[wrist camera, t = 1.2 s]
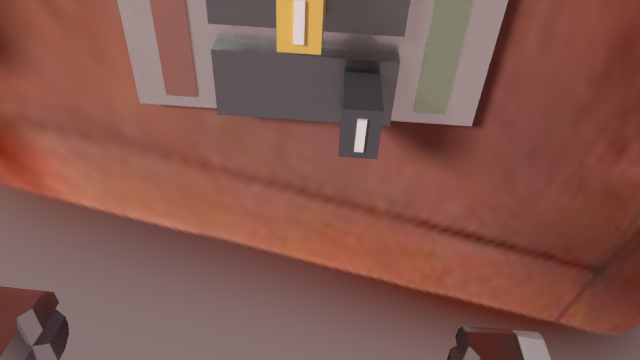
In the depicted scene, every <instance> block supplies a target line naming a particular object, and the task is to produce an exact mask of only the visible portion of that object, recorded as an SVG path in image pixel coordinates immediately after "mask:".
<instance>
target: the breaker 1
mask: <svg viewBox="0 0 640 360" xmlns="http://www.w3.org/2000/svg"><path fill="white" fill-rule="evenodd" d="M325 17H326V0H276V33H277V52H286V53H301V54H315V55H321V50H322V43H323V35H324V27H325Z"/></svg>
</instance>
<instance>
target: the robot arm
mask: <svg viewBox="0 0 640 360" xmlns="http://www.w3.org/2000/svg"><path fill="white" fill-rule="evenodd" d="M58 304H59V301H58V299H57V297H56V295H55V293H54V292H49V291H40V290H29V289H20V288H10V287H1V286H0V360H60V358H61V356H62V354H63V352H64V350H65V348H66V344H67V339H68V336H69V328H68V322H67V320H66V317H65V316H64V315H63V314H61V313H60V312H59V311H57V310H56V307H57V305H58ZM455 339H456V344H457V346H455V347H453V348H452V349H450V351H449V354H448V357H447V360H551V358H550V355H549V352H548V350H547V347H546V344H545V341H544V339H543V337H542V336H541V335H540V334H539V333H538V332H530V331H515V330H510V329H500V328H486V327H471V326H461V327H460V328H458V330H457V333H456V336H455Z"/></svg>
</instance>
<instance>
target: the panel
mask: <svg viewBox="0 0 640 360" xmlns="http://www.w3.org/2000/svg"><path fill="white" fill-rule="evenodd" d="M117 1H118V5H119V10H120V14H121V19H122V23H123V28H124V32H125V37H126V42H127V46H128V51H129V55H130V60H131V64H132V69H133V74H134V78H135V83H136V87H137V92H138V96H139V101H140V103H147V104H161V105H175V106H190V107H204V108H217V114H218V115H232V116H246V117H260V118H274V119H289V120H303V121H317V122H331V123H340V117H341V105H342V93H343V82H344V71H347V72H361V73H376V74H381V83H382V95H383V107H384V115H383V121H382V126H388V127H390V122H391V121H403V122H417V123H431V124H446V125H460V126H472V123H473V120H474V116H475V113H476V110H477V106H478V103H479V99H480V96H481V92H482V89H483V86H484V82H485V79H486V75H487V72H488V68H489V65H490V62H491V58H492V55H493V51H494V48H495V44H496V41H497V38H498V34H499V31H500V27H501V24H502V20H503V17H504V14H505V10H506V7H507V3H508V0H326V17H325V27H324V35H323V43H322V50H321V55H315V54H301V53H286V52H277V33H276V0H117Z"/></svg>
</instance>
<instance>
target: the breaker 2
mask: <svg viewBox="0 0 640 360" xmlns="http://www.w3.org/2000/svg"><path fill="white" fill-rule="evenodd" d="M383 115H384V107H383V95H382V83H381V74H376V73H361V72H347V71H344V82H343V93H342V105H341V117H340V139H339V157H353V158H367V159H377V154H378V148H379V141H380V135H381V128H382V121H383Z"/></svg>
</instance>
